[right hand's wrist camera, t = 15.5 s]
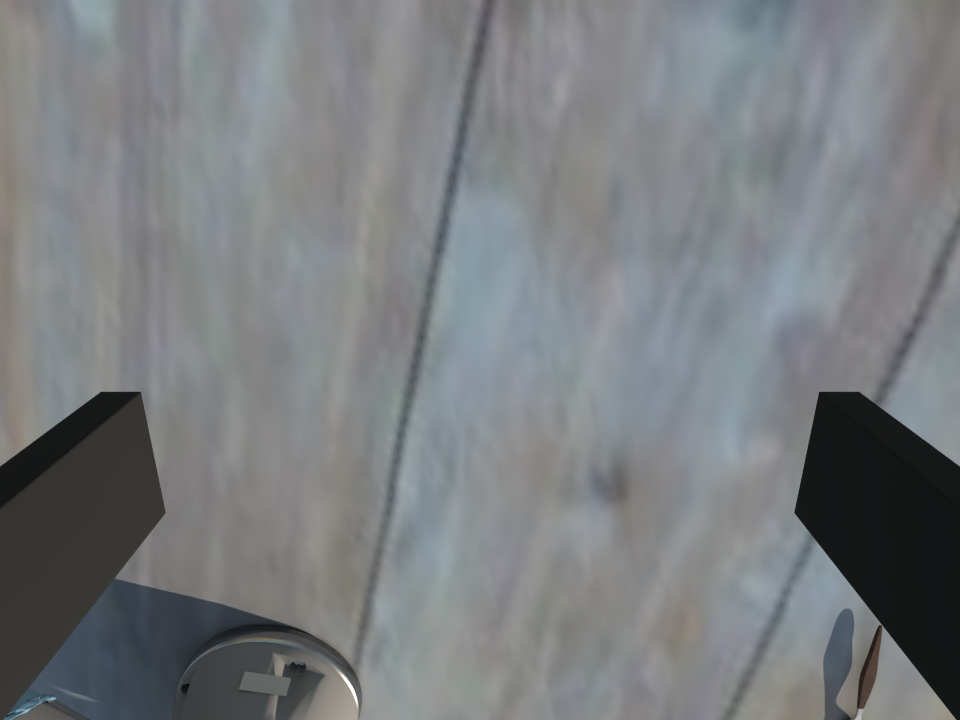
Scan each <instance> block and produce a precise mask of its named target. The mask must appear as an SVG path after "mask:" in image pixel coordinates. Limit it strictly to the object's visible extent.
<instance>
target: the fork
mask: <svg viewBox="0 0 960 720" xmlns="http://www.w3.org/2000/svg"><path fill="white" fill-rule="evenodd" d="M881 635H882V625H879V626H878V628H877V631H876V633H875V636H874V638H873V641H872V644H871V647H870V650H869V653H868V656H867V658H866V661H865V663H864V666H863V668H862V671H861V675H860V679H859V688H858V701H857V711H856V715H855V716H854V717H853V718H852V719H850V720H861V715H862V712H863V709H864V707H865V705H866V702H867V700H868V698H869V695H870V693H871V691H872V688H873V686H874V683H875V679H876V674H877V666H878V657H879V650H880V643H881Z"/></svg>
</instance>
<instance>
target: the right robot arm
mask: <svg viewBox="0 0 960 720" xmlns="http://www.w3.org/2000/svg"><path fill="white" fill-rule="evenodd" d="M165 513H166V512H165V508H164V503H163V498H162V493H161V488H160V483H159V478H158V474H157V469H156V464H155V459H154V454H153V449H152V444H151V439H150V435H149V430H148V425H147V420H146V415H145V410H144V405H143V401H142V396H141V392H100V393H99V394H98V395H96V396H95V397H94V398H92V399H91V400H89V401H88V402H87V403H85V404H84V405H83V406H81V407H80V408H79V409H77V410H76V411H75V412H73V413H72V414H71V415H69V416H68V417H67V418H65V419H64V420H62V421H61V422H60V423H58V424H57V425H56V426H54V427H53V428H52V429H50V430H49V431H48V432H46V433H45V434H44V435H42V436H41V437H40V438H38V439H37V440H35V441H34V442H33V443H31V444H30V445H29V446H27V447H26V448H25V449H23V450H22V451H21V452H19V453H18V454H17V455H15V456H14V457H13V458H11V459H10V460H8V461H7V462H6V463H4V464H3V465H2V466H0V720H89V719H88V718H86V717H84V716H82V715H80V714H79V713H77V712H75V711H73V710H71V709H69V708H68V707H66V706H64V705H62V704H60V703H59V702H57V701H56V697H54V696H52V695H48V694H45V695H41V694H39V693H37V692H34V691H32V690H30V689H28V688H29V687H30V685H31V684H32V683H33V682H34V680H35V679H36V678H37V676H38V675H39V674H40V673H41V671H42V670H43V669H44V667H45V666H46V665H47V664H48V662H49V661H50V660H51V659H52V657H53V656H54V655H55V653H56V652H57V651H58V650H59V648H60V647H61V646H62V644H63V643H64V642H65V641H66V639H67V638H68V637H69V636H70V634H71V633H72V632H73V630H74V629H75V628H76V627H77V625H78V624H79V623H80V621H81V620H82V619H83V618H84V616H85V615H86V614H87V613H88V611H89V610H90V609H91V607H92V606H93V605H94V604H95V602H96V601H97V600H98V599H99V597H100V596H101V595H102V593H103V592H104V591H105V590H106V588H107V587H108V586H109V584H110V583H111V582H112V581H113V579H114V578H115V577H116V576H117V574H118V573H119V572H120V570H121V569H122V568H123V567H124V565H125V564H126V563H127V561H128V560H129V559H130V558H131V556H132V555H133V554H134V553H135V551H136V550H137V549H138V547H139V546H140V545H141V544H142V542H143V541H144V540H145V538H146V537H147V536H148V535H149V533H150V532H151V531H152V530H153V528H154V527H155V526H156V524H157V523H158V522H159V521H160V519H161V518H162V517H163V516H164V514H165ZM794 513H795V514H796V516H797V517H798V518H799V519H800V521H801V522H802V523H803V524H804V526H805V527H806V528H807V530H808V531H809V532H810V533H811V535H812V536H813V537H814V538H815V540H816V541H817V542H818V544H819V545H820V546H821V547H822V549H823V550H824V551H825V553H826V554H827V555H828V556H829V558H830V559H831V560H832V561H833V563H834V564H835V565H836V567H837V568H838V569H839V570H840V572H841V573H842V574H843V576H844V577H845V578H846V579H847V581H848V582H849V583H850V584H851V586H852V587H853V588H854V590H855V591H856V592H857V593H858V595H859V596H860V597H861V599H862V600H863V601H864V602H865V604H866V605H867V606H868V607H869V609H870V610H871V611H872V613H873V614H874V615H875V616H876V618H877V619H878V620H879V621H880V623H881V624H882V625H883V627H884V628H885V629H886V630H887V632H888V633H889V634H890V636H891V637H892V638H893V639H894V641H895V642H896V643H897V644H898V646H899V647H900V648H901V650H902V651H903V652H904V653H905V655H906V656H907V657H908V659H909V660H910V661H911V662H912V664H913V665H914V666H915V667H916V669H917V670H918V671H919V673H920V674H921V675H922V676H923V678H924V679H925V680H926V682H927V683H928V684H929V685H930V687H931V688H932V689H933V690H934V692H935V693H936V694H937V696H938V697H939V698H940V699H941V701H942V702H943V703H944V704H945V706H946V707H947V708H948V710H949V711H950V712H951V713H952V715H953V716H954V717H955V719H956V720H960V466H958V465H957V464H956V463H954V462H953V461H952V460H950V459H949V458H947V457H946V456H945V455H943V454H942V453H941V452H939V451H938V450H937V449H935V448H934V447H933V446H931V445H930V444H929V443H927V442H926V441H925V440H923V439H922V438H920V437H919V436H918V435H916V434H915V433H914V432H912V431H911V430H910V429H908V428H907V427H906V426H904V425H903V424H902V423H900V422H899V421H898V420H896V419H895V418H893V417H892V416H891V415H889V414H888V413H887V412H885V411H884V410H883V409H881V408H880V407H879V406H877V405H876V404H875V403H873V402H872V401H871V400H869V399H868V398H866V397H865V396H864V395H862V394H861V393H860V392H819V396H818V401H817V405H816V410H815V415H814V420H813V425H812V430H811V435H810V439H809V444H808V449H807V454H806V459H805V464H804V469H803V474H802V478H801V483H800V488H799V493H798V498H797V503H796V508H795V512H794ZM361 705H362V693H361V687H360V684H359V681H358V678H357V676H356V674H355V672H354V671H353V669H352V668H351V666H350V665H349V663H348V662H347V661H346V660H345V659H344V658H343V657H342V656H341V655H340V654H339V653H338V652H337V651H336V650H335V649H333V648H332V647H330V646H329V645H328V644H326V643H324V642H323V641H321V640H319V639H317V638H315V637H313V636H311V635H308V634H306V633H303V632H300V631H297V630H293V629H289V628H284V627H277V626H249V627H243V628H238V629H234V630H231V631H228V632H225V633H223V634H221V635H218V636H216V637H215V638H213V639H211V640H210V641H208V642H207V643H206V644H204V645H203V646H202V647H201V648H200V649H199V650H198V651H197V652H196V654H195V655H194V656H193V658H192V659H191V661H190V663H189V665H188V667H187V668H186V670H185V672H184V674H183V676H182V678H181V680H180V682H179V685H178V689H177V694H176V699H175V708H174V715H173V720H359V716H360V711H361Z"/></svg>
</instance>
